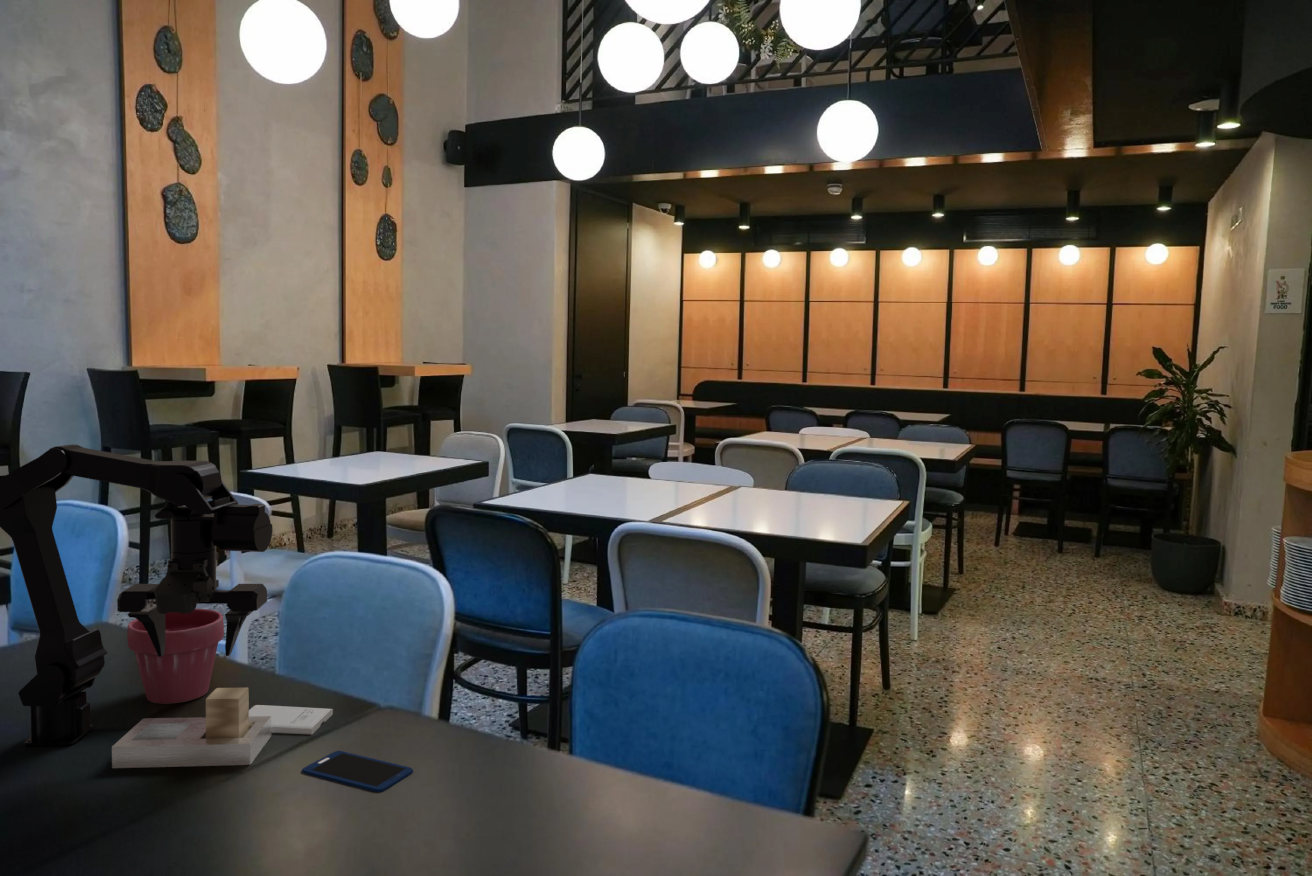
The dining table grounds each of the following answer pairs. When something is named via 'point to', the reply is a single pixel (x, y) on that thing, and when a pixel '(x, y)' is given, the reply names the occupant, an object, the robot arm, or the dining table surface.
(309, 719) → the external hard drive
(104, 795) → the dining table surface
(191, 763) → the double square frame
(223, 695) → the maple peg
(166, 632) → the plant pot
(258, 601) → the robot arm
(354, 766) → the cell phone
